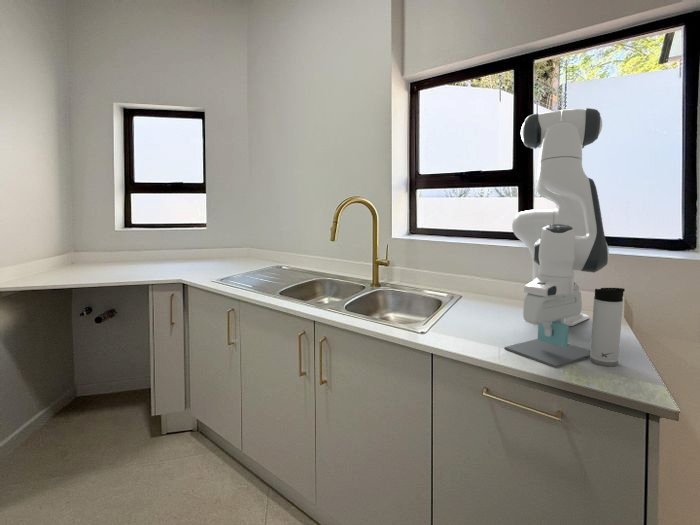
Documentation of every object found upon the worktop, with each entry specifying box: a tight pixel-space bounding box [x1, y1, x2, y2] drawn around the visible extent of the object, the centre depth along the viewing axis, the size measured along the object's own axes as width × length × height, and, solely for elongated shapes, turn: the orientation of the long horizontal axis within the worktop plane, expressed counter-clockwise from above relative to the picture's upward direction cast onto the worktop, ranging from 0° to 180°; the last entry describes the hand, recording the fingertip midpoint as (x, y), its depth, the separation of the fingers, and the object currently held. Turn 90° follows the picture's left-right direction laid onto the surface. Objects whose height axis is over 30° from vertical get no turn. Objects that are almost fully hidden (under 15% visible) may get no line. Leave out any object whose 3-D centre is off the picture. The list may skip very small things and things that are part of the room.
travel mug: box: [589, 287, 625, 367], centre depth 106 cm, size 6×7×20 cm
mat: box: [504, 338, 591, 369], centre depth 115 cm, size 18×16×1 cm
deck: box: [537, 321, 570, 348], centre depth 113 cm, size 1×8×6 cm, turn 29°
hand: (552, 334), depth 113 cm, fingers closed on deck, 1 cm apart
